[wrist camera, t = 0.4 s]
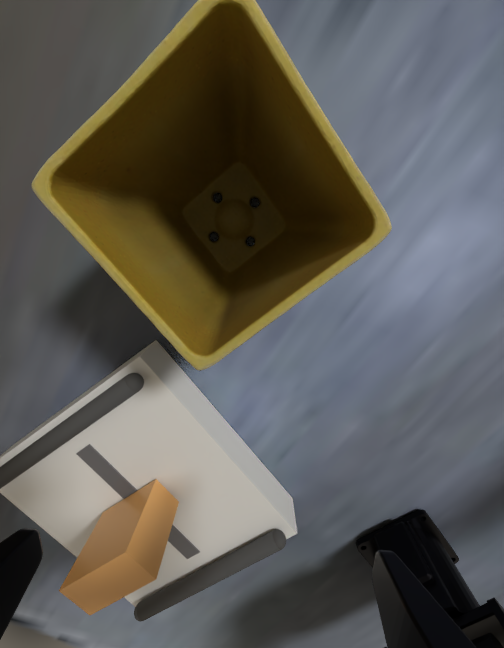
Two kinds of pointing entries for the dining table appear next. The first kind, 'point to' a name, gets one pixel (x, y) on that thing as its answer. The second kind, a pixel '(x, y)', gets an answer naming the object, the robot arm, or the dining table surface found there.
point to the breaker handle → (122, 549)
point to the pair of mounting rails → (192, 582)
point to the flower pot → (214, 184)
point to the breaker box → (154, 472)
